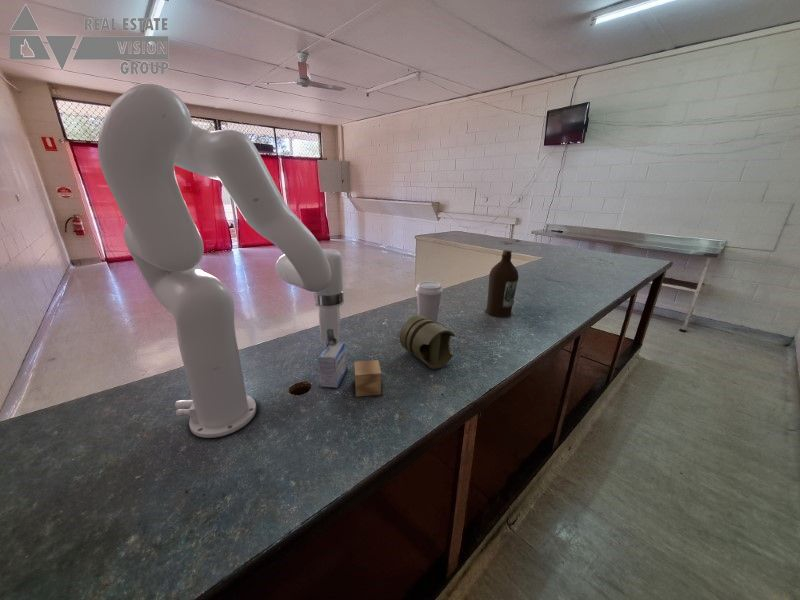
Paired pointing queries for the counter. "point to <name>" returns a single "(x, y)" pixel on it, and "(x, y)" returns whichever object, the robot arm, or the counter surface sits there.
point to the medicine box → (332, 365)
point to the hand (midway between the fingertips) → (333, 358)
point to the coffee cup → (429, 299)
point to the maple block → (367, 378)
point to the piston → (427, 341)
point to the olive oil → (502, 287)
